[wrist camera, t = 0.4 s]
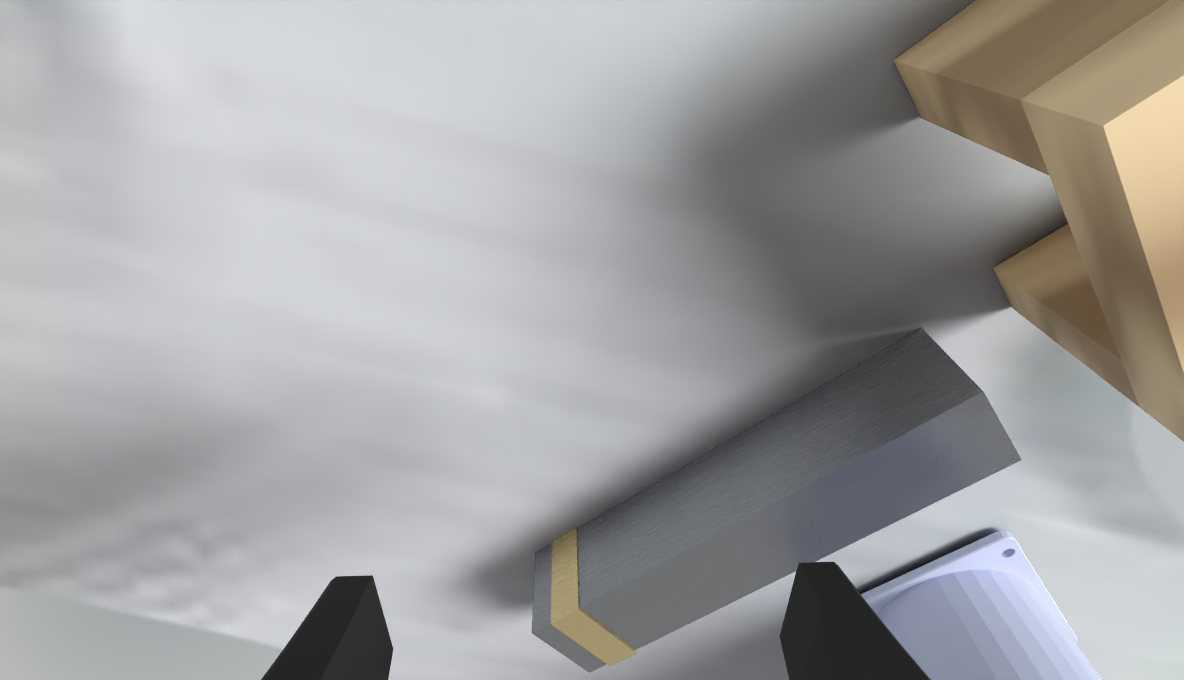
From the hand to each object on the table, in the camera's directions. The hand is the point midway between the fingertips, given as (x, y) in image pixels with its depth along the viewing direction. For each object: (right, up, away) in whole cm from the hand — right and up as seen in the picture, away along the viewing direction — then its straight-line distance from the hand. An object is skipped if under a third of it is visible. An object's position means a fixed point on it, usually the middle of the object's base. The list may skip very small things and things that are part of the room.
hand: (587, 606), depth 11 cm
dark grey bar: (+5, 0, +12) cm, 13 cm away
